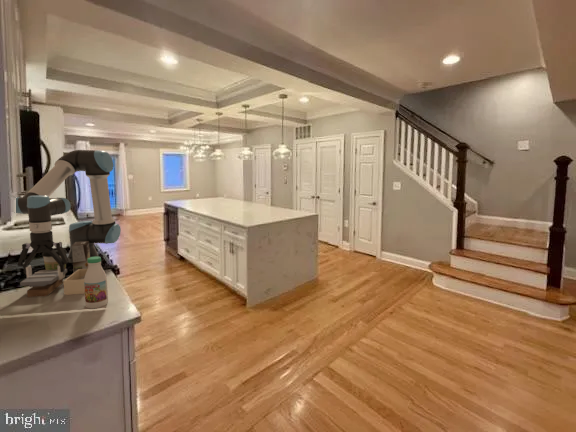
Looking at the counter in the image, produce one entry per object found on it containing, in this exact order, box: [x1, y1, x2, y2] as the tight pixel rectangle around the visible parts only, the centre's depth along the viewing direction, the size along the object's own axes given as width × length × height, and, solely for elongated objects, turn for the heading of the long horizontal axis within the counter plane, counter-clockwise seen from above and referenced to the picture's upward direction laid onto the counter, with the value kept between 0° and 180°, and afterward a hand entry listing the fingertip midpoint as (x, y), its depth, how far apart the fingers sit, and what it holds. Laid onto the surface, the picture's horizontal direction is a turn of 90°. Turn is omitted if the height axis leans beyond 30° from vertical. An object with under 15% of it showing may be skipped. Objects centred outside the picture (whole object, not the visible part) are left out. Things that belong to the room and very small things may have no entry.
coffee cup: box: [41, 247, 68, 279], centre depth 147 cm, size 10×10×15 cm
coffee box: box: [72, 241, 90, 273], centre depth 158 cm, size 9×6×16 cm
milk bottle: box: [84, 256, 109, 310], centre depth 121 cm, size 8×8×20 cm
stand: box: [26, 278, 64, 298], centre depth 134 cm, size 15×7×4 cm, turn 15°
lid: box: [19, 268, 68, 288], centre depth 134 cm, size 16×11×3 cm
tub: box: [62, 269, 88, 296], centre depth 138 cm, size 16×8×7 cm, turn 15°
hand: (45, 279), depth 134 cm, fingers closed on lid, 11 cm apart
